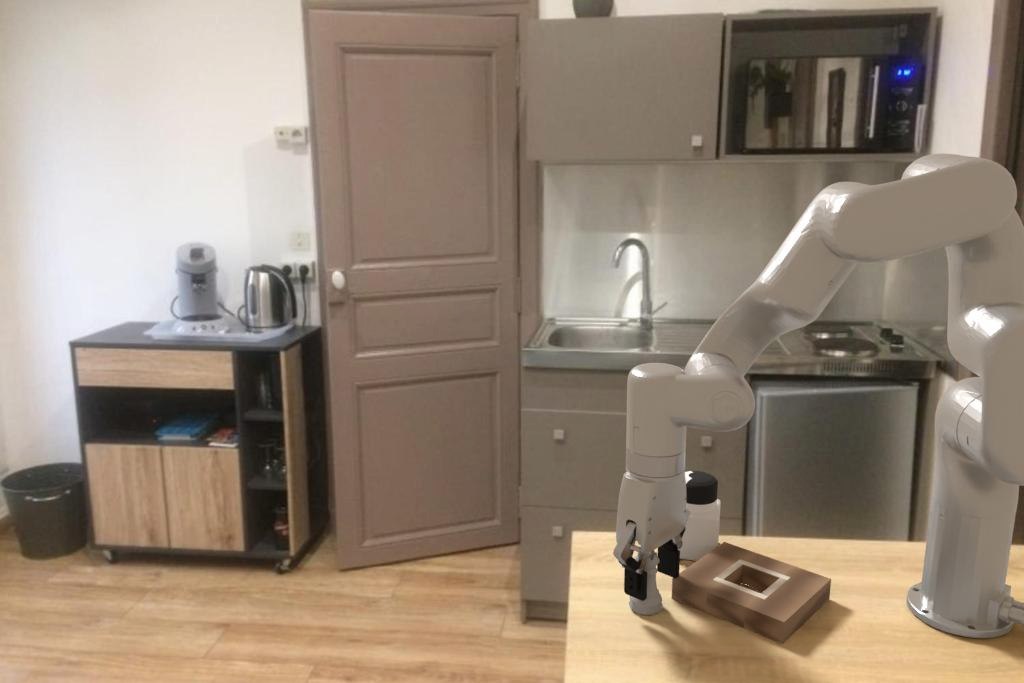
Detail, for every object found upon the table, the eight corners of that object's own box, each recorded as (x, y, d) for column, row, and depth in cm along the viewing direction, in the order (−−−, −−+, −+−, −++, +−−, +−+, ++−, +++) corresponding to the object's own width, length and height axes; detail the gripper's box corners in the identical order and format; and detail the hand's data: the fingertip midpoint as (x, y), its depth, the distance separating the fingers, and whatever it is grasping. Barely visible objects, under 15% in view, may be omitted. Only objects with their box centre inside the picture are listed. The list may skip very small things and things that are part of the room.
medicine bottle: (718, 541, 135) (722, 468, 132) (717, 564, 129) (721, 487, 126) (671, 536, 137) (674, 464, 134) (667, 558, 130) (670, 483, 127)
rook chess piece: (661, 618, 115) (664, 562, 113) (627, 614, 116) (628, 559, 114) (663, 600, 119) (665, 546, 117) (629, 597, 120) (631, 543, 118)
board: (829, 598, 119) (831, 578, 118) (782, 643, 109) (784, 622, 108) (723, 560, 130) (724, 541, 129) (671, 598, 120) (672, 578, 119)
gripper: (668, 435, 121) (664, 552, 126) (590, 472, 109) (589, 601, 114) (716, 448, 116) (710, 570, 121) (640, 488, 104) (637, 623, 109)
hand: (652, 584), depth 117 cm, fingers open, 6 cm apart
